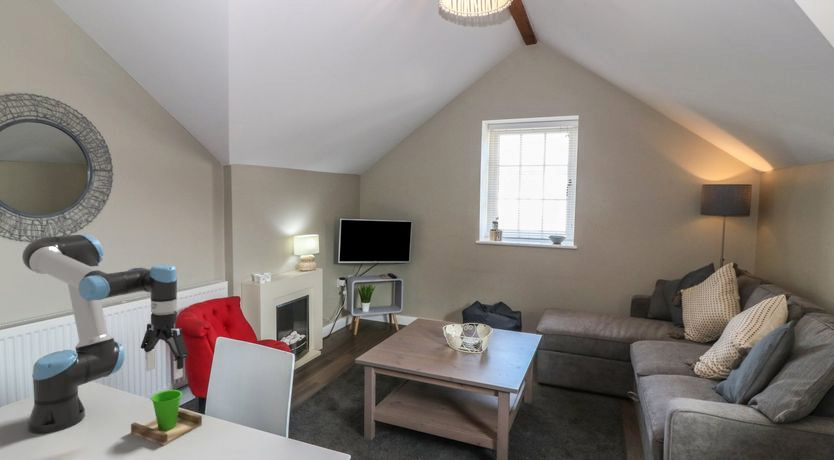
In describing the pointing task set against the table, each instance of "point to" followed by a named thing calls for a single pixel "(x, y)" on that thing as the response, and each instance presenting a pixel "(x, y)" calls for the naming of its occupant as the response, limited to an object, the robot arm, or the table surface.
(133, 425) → the wooden tray
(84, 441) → the table surface
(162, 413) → the cup
